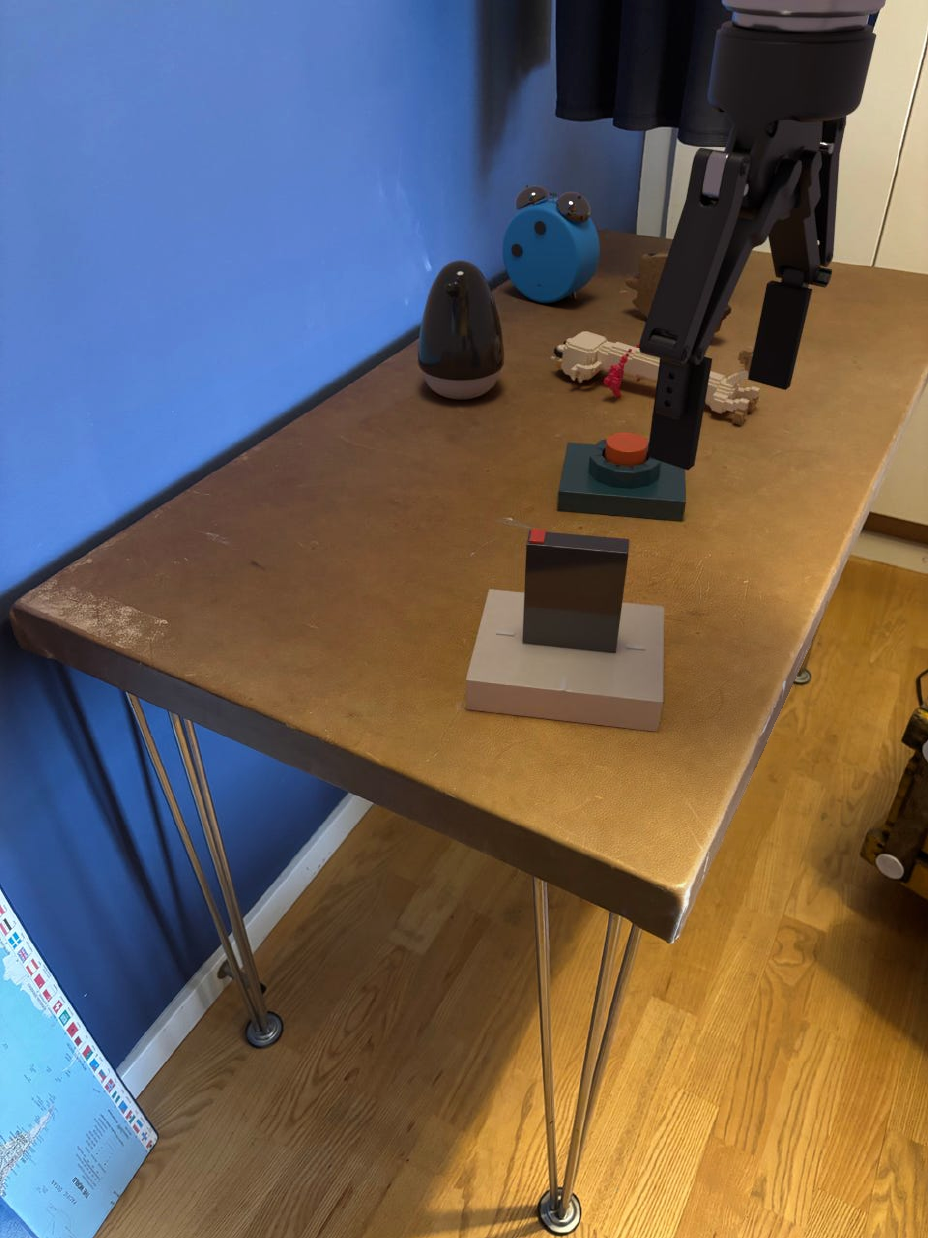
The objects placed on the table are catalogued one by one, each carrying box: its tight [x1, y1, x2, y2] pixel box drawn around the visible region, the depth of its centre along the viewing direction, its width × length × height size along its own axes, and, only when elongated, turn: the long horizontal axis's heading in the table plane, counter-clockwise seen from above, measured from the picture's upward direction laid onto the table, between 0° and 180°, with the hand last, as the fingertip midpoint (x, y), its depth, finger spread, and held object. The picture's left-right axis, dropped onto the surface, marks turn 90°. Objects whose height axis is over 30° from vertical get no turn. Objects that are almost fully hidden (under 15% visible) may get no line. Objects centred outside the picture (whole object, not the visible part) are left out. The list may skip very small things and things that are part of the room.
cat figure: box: [550, 330, 761, 426], centre depth 106 cm, size 10×9×25 cm
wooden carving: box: [624, 251, 732, 333], centre depth 121 cm, size 16×5×10 cm, turn 44°
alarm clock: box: [502, 184, 601, 304], centre depth 129 cm, size 13×6×15 cm, turn 53°
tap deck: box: [465, 588, 665, 733], centre depth 70 cm, size 14×11×3 cm
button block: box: [556, 438, 687, 522], centre depth 90 cm, size 12×10×4 cm
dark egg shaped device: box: [417, 260, 505, 401], centre depth 105 cm, size 10×10×15 cm
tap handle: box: [522, 528, 630, 653], centre depth 66 cm, size 7×2×9 cm, turn 80°
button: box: [605, 431, 649, 466], centre depth 89 cm, size 4×4×2 cm
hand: (723, 419), depth 58 cm, fingers open, 13 cm apart
